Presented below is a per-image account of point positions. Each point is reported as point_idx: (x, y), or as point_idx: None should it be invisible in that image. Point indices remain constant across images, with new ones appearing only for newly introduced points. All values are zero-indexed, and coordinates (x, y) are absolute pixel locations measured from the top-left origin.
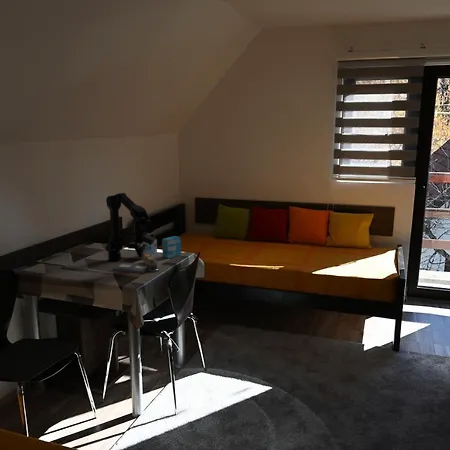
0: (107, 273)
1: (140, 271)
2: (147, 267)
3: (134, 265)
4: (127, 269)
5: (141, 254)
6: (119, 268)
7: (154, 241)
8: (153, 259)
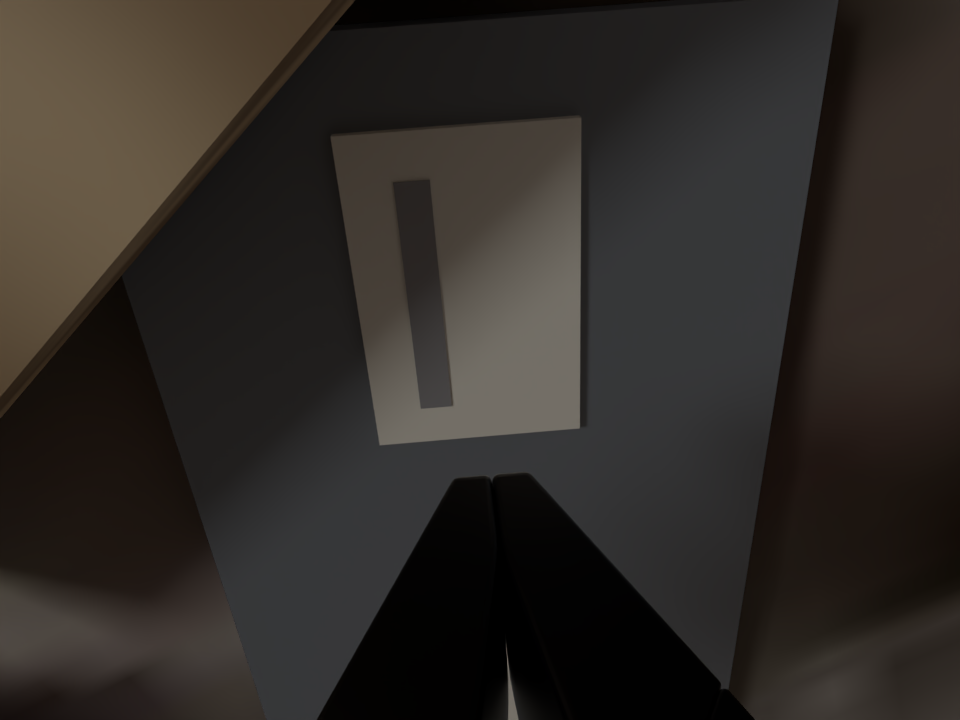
0: (905, 690)
1: (810, 113)
2: (399, 85)
3: (372, 527)
4: (748, 499)
5: (559, 573)
6: (705, 660)
7: None
8: None
